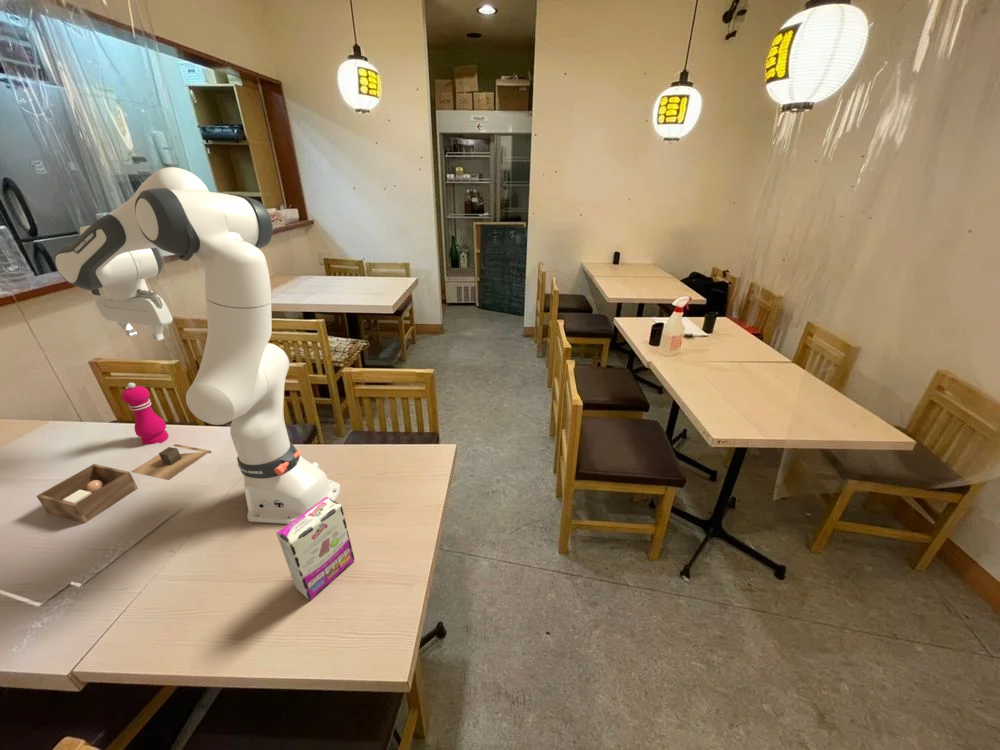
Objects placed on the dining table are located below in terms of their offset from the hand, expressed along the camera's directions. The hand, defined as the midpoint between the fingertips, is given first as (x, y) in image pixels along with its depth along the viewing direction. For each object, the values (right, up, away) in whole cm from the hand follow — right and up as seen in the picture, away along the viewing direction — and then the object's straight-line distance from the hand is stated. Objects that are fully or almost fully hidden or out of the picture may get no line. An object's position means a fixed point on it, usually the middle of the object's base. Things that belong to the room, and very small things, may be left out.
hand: (145, 337), depth 110 cm
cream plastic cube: (-4, -43, -13) cm, 45 cm away
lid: (+5, -36, +4) cm, 36 cm away
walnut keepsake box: (-3, -42, -10) cm, 44 cm away
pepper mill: (-8, -31, +13) cm, 34 cm away
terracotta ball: (-5, -40, -8) cm, 41 cm away
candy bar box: (+62, -52, -27) cm, 85 cm away
